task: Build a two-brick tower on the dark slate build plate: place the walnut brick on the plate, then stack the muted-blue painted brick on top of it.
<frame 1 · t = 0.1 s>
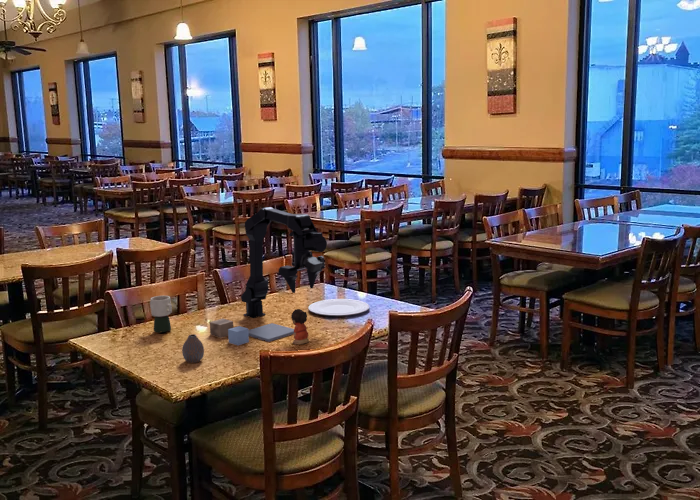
hand: (302, 290, 261), 15 cm above the table, fingers open, 9 cm apart
walnut brick: (222, 334, 259), on the table
vase: (193, 361, 231), on the table
figurine: (301, 342, 248), on the table
build plate: (270, 333, 259), on the table
plate: (338, 311, 289), on the table
character mug: (162, 332, 263), on the table
blue brick: (238, 342, 249), on the table
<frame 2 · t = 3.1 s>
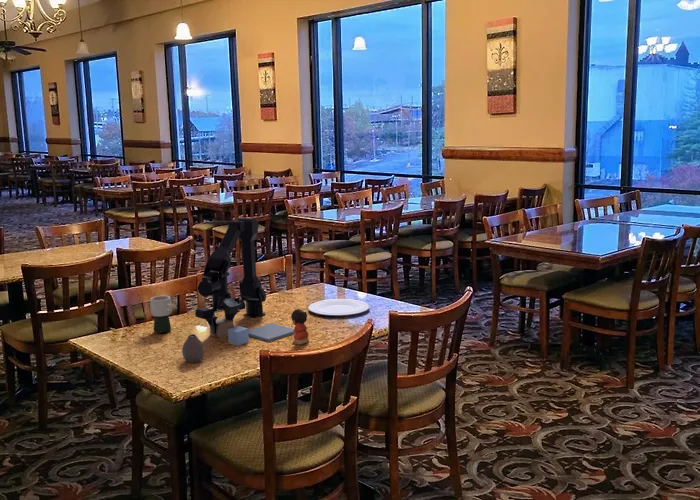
hand: (221, 331, 258), 1 cm above the table, fingers closed on walnut brick, 6 cm apart
walnut brick: (222, 334, 259), on the table, touching gripper
everything else where it was.
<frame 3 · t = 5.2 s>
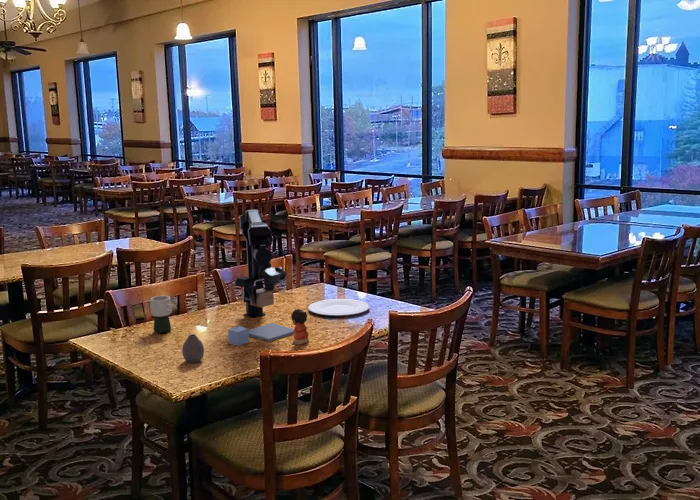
hand: (261, 301, 256), 12 cm above the table, fingers closed on walnut brick, 6 cm apart
walnut brick: (262, 304, 256), point 11 cm above the table, touching gripper
everything else where it was.
when the fingers open (3 cm above the table, at t = 7.5 s): walnut brick drops 1 cm, resting on build plate.
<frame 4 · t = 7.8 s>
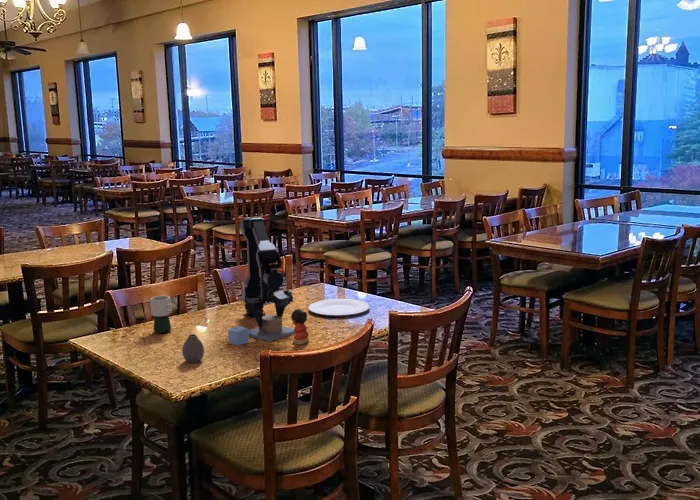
hand: (270, 324, 258), 3 cm above the table, fingers open, 9 cm apart
walnut brick: (270, 330, 259), point 1 cm above the table, touching build plate
everything else where it was.
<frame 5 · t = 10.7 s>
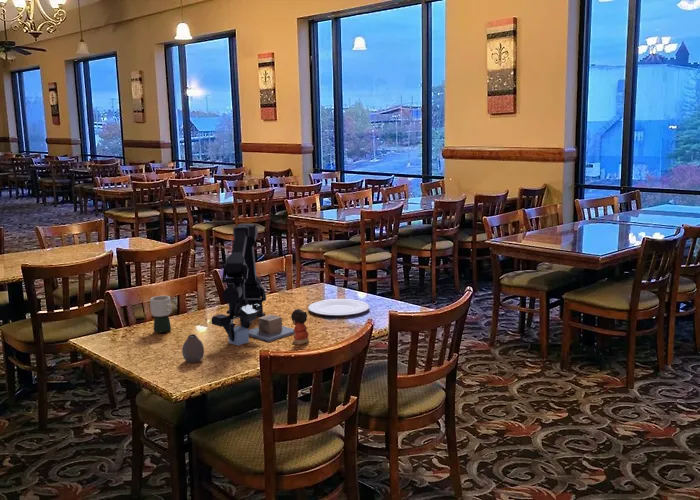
hand: (238, 339, 249), 1 cm above the table, fingers closed on blue brick, 5 cm apart
blue brick: (238, 342, 249), on the table, touching gripper
everything else where it was.
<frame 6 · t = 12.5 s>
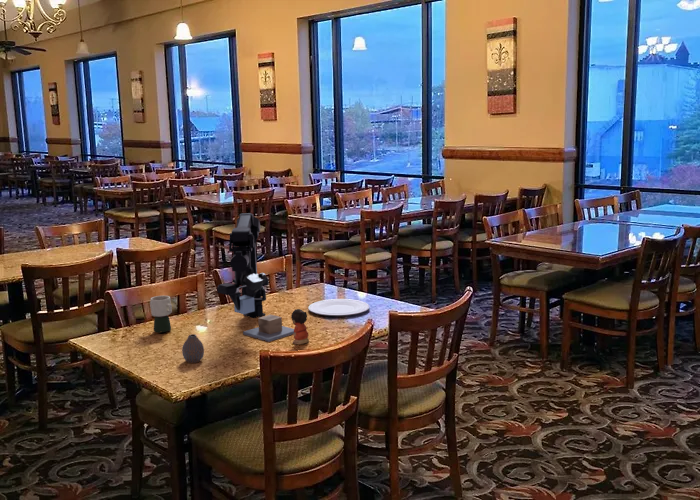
hand: (244, 308, 249), 12 cm above the table, fingers closed on blue brick, 5 cm apart
blue brick: (244, 311, 250), point 11 cm above the table, touching gripper
everything else where it was.
when the fingers open (8 cm above the table, at t = 14.3 s): blue brick drops 1 cm, resting on walnut brick.
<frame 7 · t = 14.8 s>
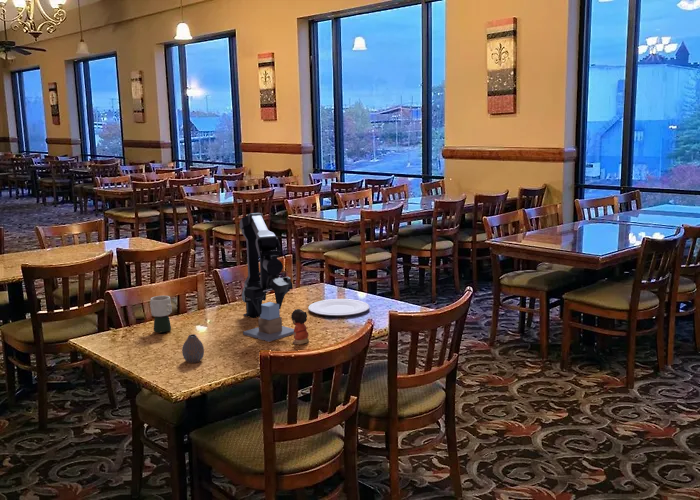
hand: (269, 311, 257), 8 cm above the table, fingers open, 9 cm apart
walnut brick: (270, 330, 259), point 1 cm above the table, touching blue brick, build plate
blue brick: (269, 317, 258), point 6 cm above the table, touching walnut brick
everything else where it was.
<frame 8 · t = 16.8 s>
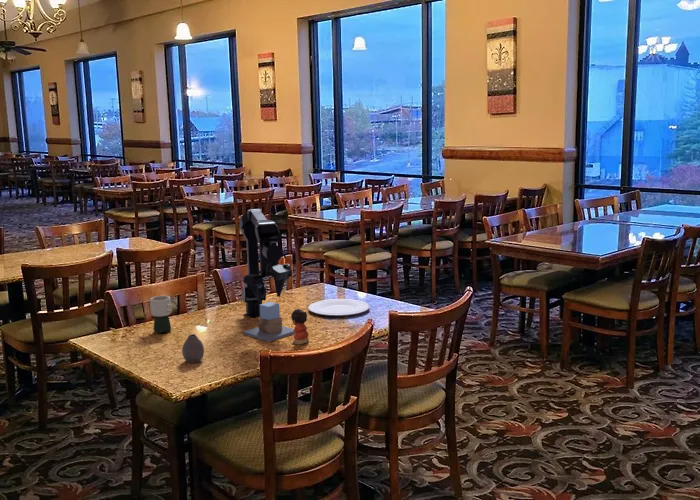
hand: (269, 299, 256), 13 cm above the table, fingers open, 9 cm apart
nothing on the table moved.
at the end: walnut brick inside the target area on the build plate (0.0 cm from its centre), point 1.0 cm above the build plate's base; blue brick 0.0 cm off-centre on the walnut brick, point 5.0 cm above the walnut brick's base; blue brick tilted 0° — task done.
